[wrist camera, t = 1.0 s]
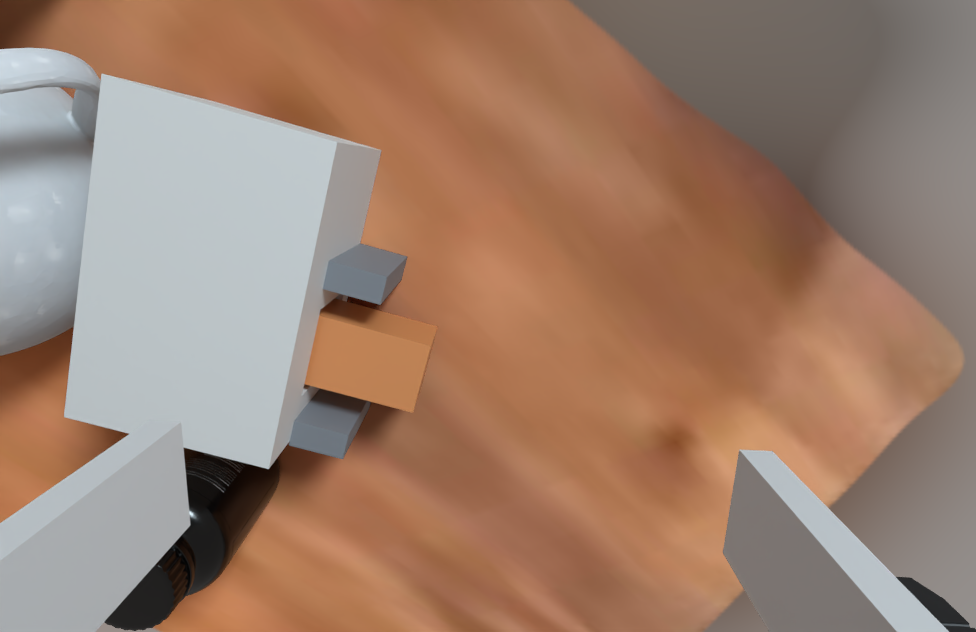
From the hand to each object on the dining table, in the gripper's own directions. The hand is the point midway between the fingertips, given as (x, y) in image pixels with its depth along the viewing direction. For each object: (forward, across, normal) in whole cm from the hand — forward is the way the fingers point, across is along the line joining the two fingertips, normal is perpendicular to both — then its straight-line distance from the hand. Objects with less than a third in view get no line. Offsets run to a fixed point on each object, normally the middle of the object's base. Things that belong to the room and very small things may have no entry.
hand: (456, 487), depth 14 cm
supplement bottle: (+23, -17, -13) cm, 31 cm away
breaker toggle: (+21, -7, -3) cm, 23 cm away
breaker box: (+23, -12, +1) cm, 26 cm away
